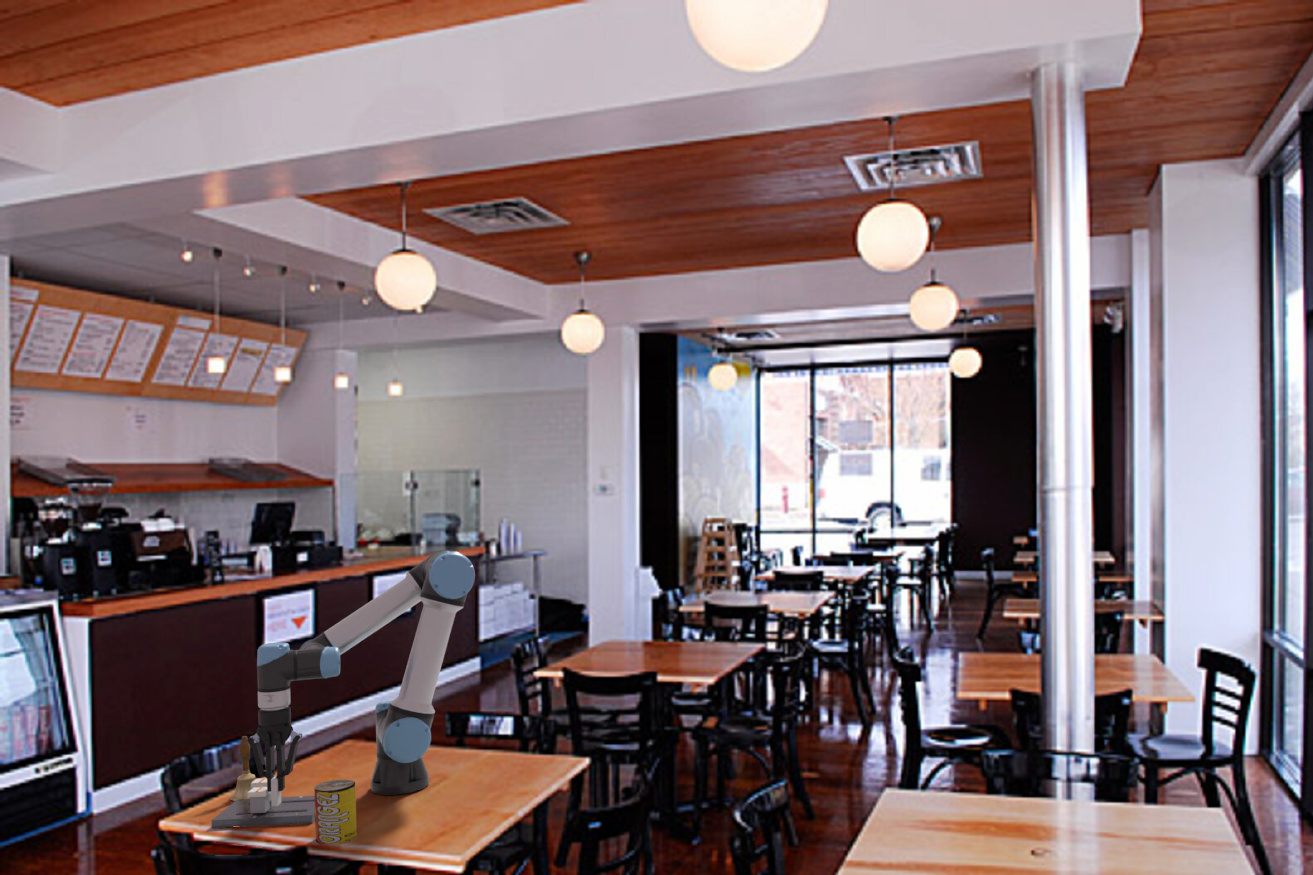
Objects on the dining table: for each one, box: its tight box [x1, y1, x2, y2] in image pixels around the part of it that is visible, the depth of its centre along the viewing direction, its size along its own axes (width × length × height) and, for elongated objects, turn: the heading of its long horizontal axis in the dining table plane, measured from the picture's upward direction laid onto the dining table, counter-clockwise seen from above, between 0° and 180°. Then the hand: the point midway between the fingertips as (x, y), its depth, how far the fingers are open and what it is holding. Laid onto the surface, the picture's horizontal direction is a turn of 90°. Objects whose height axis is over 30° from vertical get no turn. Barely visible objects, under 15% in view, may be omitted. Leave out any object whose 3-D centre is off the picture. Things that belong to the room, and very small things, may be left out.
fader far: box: [251, 777, 271, 801], centre depth 256 cm, size 4×4×5 cm
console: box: [211, 795, 315, 830], centre depth 252 cm, size 24×16×2 cm, turn 91°
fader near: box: [247, 786, 271, 813], centre depth 248 cm, size 4×4×5 cm
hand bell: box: [229, 735, 257, 802], centre depth 269 cm, size 8×8×16 cm
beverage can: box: [314, 778, 358, 846], centre depth 234 cm, size 9×9×12 cm
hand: (276, 804), depth 248 cm, fingers closed
